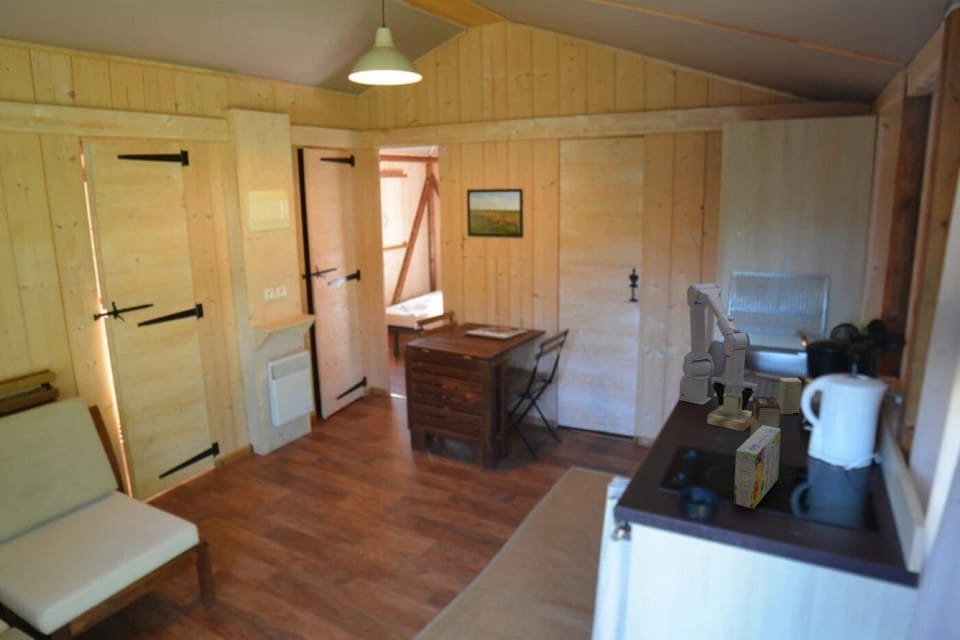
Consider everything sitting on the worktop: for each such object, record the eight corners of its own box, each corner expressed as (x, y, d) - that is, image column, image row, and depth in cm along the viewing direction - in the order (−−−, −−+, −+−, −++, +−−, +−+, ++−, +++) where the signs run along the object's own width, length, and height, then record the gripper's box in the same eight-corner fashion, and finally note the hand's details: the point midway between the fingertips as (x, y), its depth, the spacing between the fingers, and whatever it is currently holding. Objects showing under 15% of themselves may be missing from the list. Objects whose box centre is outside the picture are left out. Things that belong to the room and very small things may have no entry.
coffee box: (748, 444, 204) (752, 395, 201) (770, 446, 203) (774, 396, 199) (754, 457, 195) (758, 405, 192) (777, 458, 194) (781, 406, 191)
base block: (707, 423, 222) (707, 414, 221) (720, 413, 231) (721, 404, 230) (743, 431, 214) (743, 422, 214) (755, 420, 223) (756, 412, 222)
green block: (723, 413, 222) (724, 396, 221) (728, 409, 225) (729, 392, 224) (736, 416, 219) (737, 399, 218) (741, 412, 222) (742, 395, 221)
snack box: (757, 474, 184) (761, 423, 181) (778, 479, 181) (783, 428, 178) (731, 504, 168) (735, 449, 165) (754, 510, 165) (758, 454, 162)
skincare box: (794, 410, 232) (797, 377, 230) (799, 414, 228) (802, 381, 225) (776, 409, 233) (778, 377, 230) (780, 414, 229) (783, 380, 226)
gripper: (708, 367, 220) (706, 405, 223) (753, 375, 211) (750, 415, 214) (716, 362, 225) (714, 400, 228) (760, 369, 216) (757, 408, 219)
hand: (732, 407), depth 221 cm, fingers open, 7 cm apart
